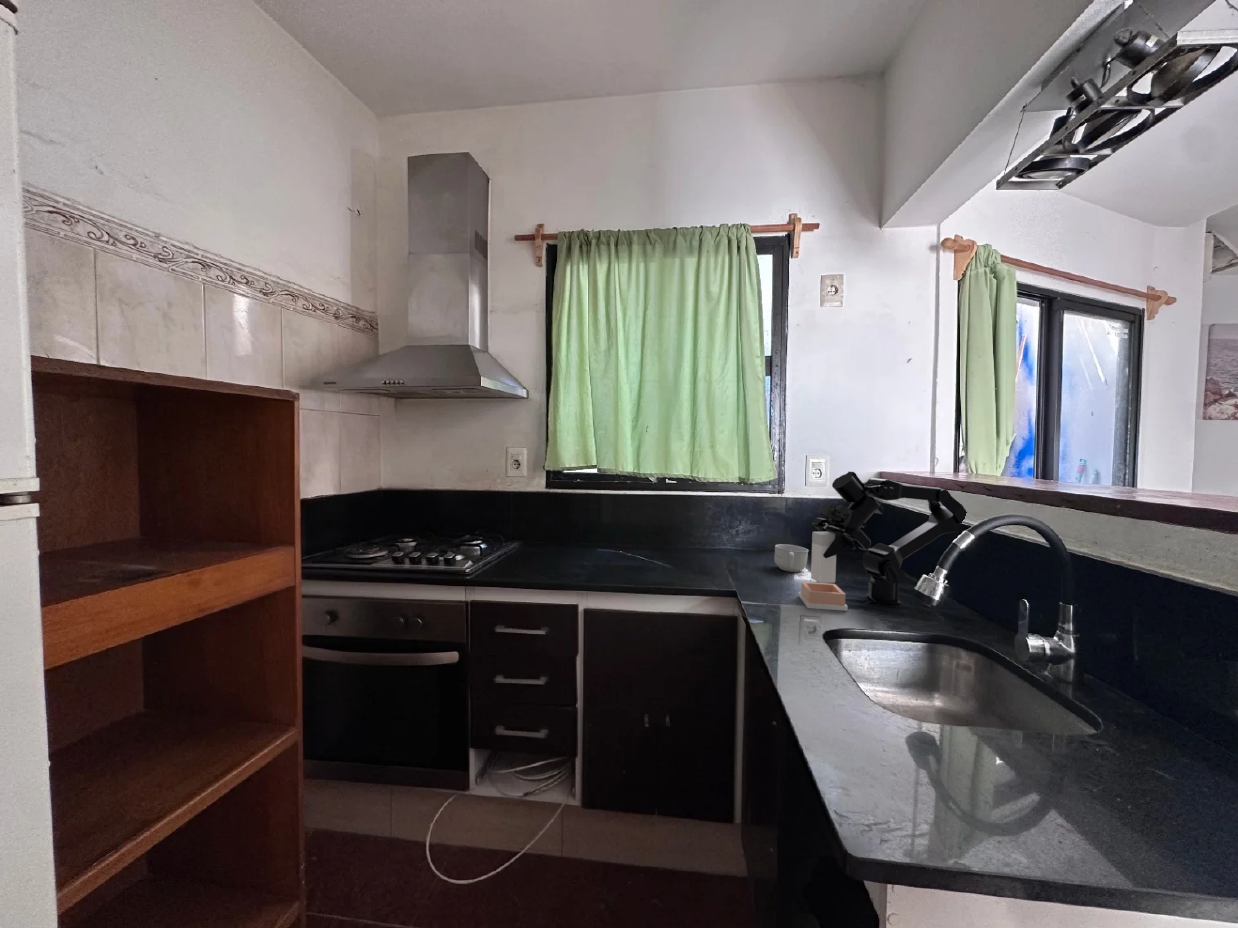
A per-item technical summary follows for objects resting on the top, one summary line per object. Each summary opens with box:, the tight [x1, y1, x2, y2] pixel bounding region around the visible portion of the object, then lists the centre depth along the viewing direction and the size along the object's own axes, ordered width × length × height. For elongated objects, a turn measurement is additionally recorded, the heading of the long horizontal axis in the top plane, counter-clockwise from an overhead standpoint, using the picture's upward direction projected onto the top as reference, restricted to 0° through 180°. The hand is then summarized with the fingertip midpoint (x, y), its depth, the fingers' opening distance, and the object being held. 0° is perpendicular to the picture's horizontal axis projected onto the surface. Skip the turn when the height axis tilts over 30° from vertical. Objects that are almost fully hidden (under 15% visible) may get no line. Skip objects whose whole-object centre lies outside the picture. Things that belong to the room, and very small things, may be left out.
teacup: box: [774, 543, 809, 573], centre depth 159 cm, size 14×11×8 cm
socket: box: [798, 581, 849, 612], centre depth 127 cm, size 10×10×4 cm
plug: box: [810, 531, 837, 584], centre depth 127 cm, size 4×4×13 cm
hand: (819, 554), depth 126 cm, fingers closed on plug, 4 cm apart
